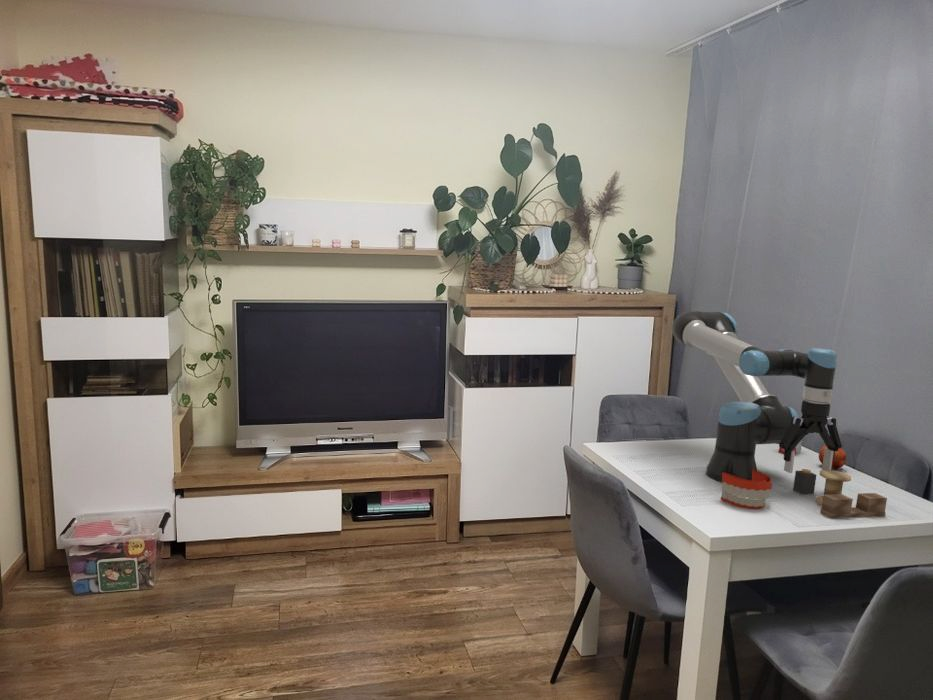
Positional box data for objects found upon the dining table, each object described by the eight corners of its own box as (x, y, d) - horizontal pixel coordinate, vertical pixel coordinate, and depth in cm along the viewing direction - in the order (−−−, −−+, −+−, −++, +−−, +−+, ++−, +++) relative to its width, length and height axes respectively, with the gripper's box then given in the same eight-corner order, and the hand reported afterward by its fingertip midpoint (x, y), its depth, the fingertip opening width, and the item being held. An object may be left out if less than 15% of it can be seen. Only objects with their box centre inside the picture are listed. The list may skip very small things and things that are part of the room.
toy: (745, 513, 192) (748, 484, 191) (717, 499, 201) (720, 472, 200) (779, 508, 197) (783, 481, 196) (750, 496, 206) (754, 469, 205)
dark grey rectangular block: (802, 494, 211) (805, 472, 210) (793, 489, 214) (796, 468, 213) (813, 494, 212) (816, 472, 211) (804, 489, 215) (807, 467, 214)
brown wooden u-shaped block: (830, 518, 192) (833, 499, 191) (820, 512, 196) (822, 494, 195) (884, 516, 197) (887, 498, 196) (873, 510, 200) (876, 493, 200)
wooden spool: (829, 509, 199) (834, 479, 198) (809, 499, 207) (813, 470, 205) (853, 508, 201) (857, 478, 200) (832, 498, 209) (836, 469, 207)
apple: (831, 464, 246) (834, 441, 245) (850, 471, 238) (854, 448, 237) (812, 464, 244) (815, 441, 242) (831, 472, 236) (834, 449, 234)
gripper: (789, 403, 202) (780, 476, 205) (861, 404, 209) (851, 474, 211) (771, 398, 209) (763, 468, 212) (841, 399, 216) (832, 466, 219)
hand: (807, 471), depth 212 cm, fingers open, 13 cm apart
